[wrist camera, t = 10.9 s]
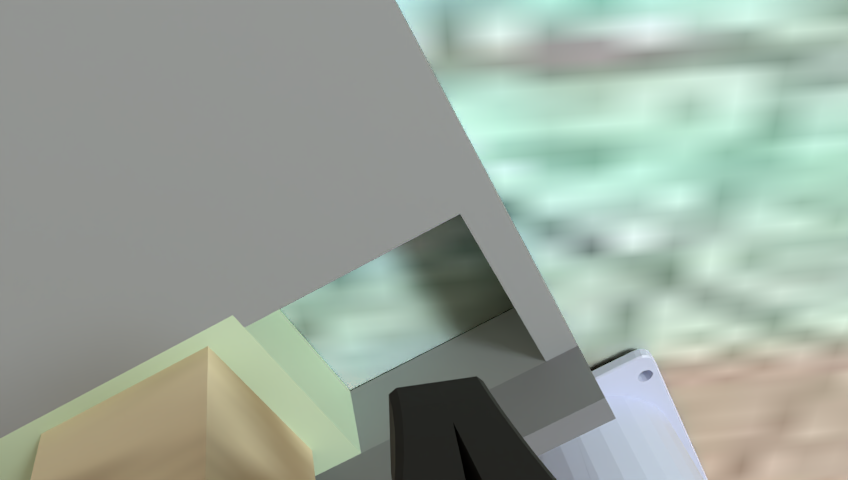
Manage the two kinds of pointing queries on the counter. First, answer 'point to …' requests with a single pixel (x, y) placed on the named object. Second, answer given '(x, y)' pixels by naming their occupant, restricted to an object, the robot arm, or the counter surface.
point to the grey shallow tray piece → (242, 216)
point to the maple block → (176, 432)
